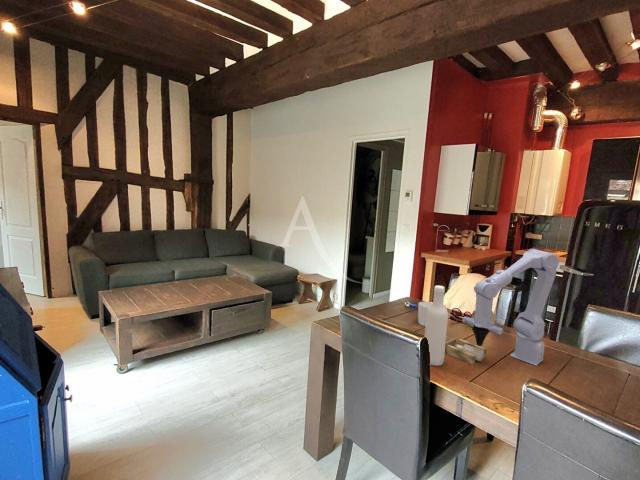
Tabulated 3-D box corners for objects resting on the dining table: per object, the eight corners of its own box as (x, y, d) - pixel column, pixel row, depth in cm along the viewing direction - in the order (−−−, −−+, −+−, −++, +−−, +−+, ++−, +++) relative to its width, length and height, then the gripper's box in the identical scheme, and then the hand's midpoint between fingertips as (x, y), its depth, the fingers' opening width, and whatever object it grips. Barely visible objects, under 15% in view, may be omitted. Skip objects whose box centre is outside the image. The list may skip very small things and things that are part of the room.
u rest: (485, 356, 133) (486, 348, 133) (472, 364, 127) (473, 356, 126) (452, 343, 144) (453, 336, 144) (439, 350, 137) (440, 342, 137)
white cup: (413, 321, 167) (415, 302, 166) (425, 319, 171) (427, 301, 169) (424, 327, 160) (426, 308, 159) (436, 325, 163) (438, 306, 162)
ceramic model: (494, 324, 168) (496, 305, 166) (501, 333, 157) (504, 313, 156) (464, 321, 170) (466, 302, 169) (470, 330, 160) (472, 310, 158)
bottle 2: (484, 348, 130) (457, 338, 137) (479, 355, 127) (452, 345, 134) (484, 357, 132) (458, 347, 139) (479, 364, 129) (453, 354, 136)
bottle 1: (445, 367, 124) (452, 290, 120) (423, 364, 126) (430, 288, 121) (441, 357, 132) (448, 284, 127) (421, 354, 134) (427, 282, 129)
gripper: (460, 308, 130) (456, 340, 132) (498, 320, 119) (494, 355, 121) (468, 305, 135) (465, 336, 137) (506, 316, 124) (502, 349, 126)
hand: (479, 345), depth 129 cm, fingers closed
